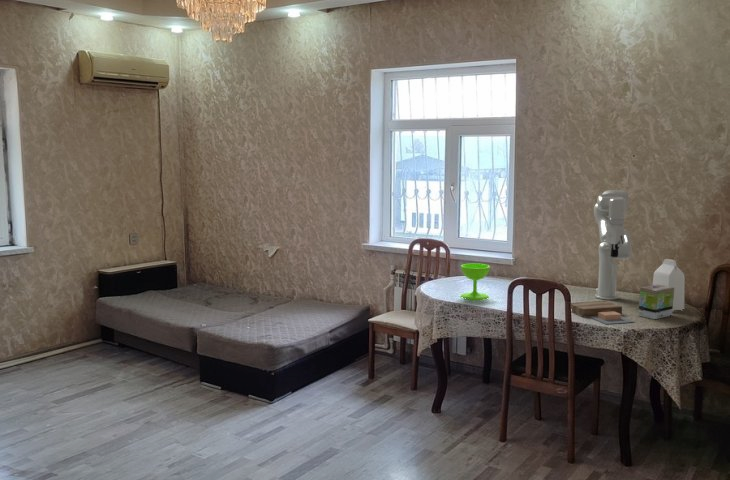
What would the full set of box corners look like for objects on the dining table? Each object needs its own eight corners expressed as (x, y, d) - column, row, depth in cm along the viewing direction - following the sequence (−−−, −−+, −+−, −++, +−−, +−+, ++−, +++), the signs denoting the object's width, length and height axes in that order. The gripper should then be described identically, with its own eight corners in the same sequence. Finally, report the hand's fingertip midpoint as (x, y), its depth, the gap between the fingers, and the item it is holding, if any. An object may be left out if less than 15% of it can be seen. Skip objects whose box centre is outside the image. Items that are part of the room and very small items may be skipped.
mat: (589, 317, 333) (589, 316, 333) (617, 315, 337) (617, 314, 337) (605, 324, 320) (605, 323, 319) (635, 322, 323) (635, 321, 323)
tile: (605, 315, 325) (604, 320, 326) (621, 314, 327) (621, 319, 328) (598, 312, 331) (597, 317, 332) (614, 311, 333) (614, 316, 334)
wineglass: (493, 296, 379) (494, 265, 377) (482, 301, 366) (483, 269, 364) (467, 293, 388) (467, 262, 385) (455, 298, 374) (456, 266, 372)
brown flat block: (568, 310, 347) (568, 303, 346) (605, 308, 352) (606, 300, 351) (582, 317, 333) (583, 309, 333) (621, 314, 338) (622, 306, 338)
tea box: (656, 320, 328) (658, 290, 326) (637, 316, 336) (639, 287, 334) (672, 315, 337) (674, 286, 334) (654, 311, 345) (655, 283, 342)
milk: (649, 306, 355) (652, 258, 351) (666, 305, 359) (669, 257, 355) (667, 311, 344) (670, 262, 340) (684, 310, 348) (687, 260, 344)
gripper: (601, 220, 355) (599, 254, 358) (618, 223, 340) (616, 259, 343) (614, 220, 357) (612, 254, 359) (631, 223, 342) (629, 258, 345)
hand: (614, 256), depth 351 cm, fingers closed
